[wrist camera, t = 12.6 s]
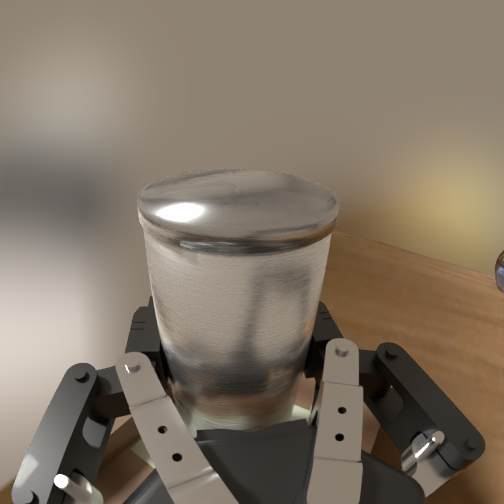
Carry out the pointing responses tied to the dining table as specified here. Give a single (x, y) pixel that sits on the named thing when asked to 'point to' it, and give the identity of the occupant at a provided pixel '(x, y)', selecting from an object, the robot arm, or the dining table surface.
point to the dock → (141, 465)
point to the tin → (500, 271)
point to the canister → (236, 289)
